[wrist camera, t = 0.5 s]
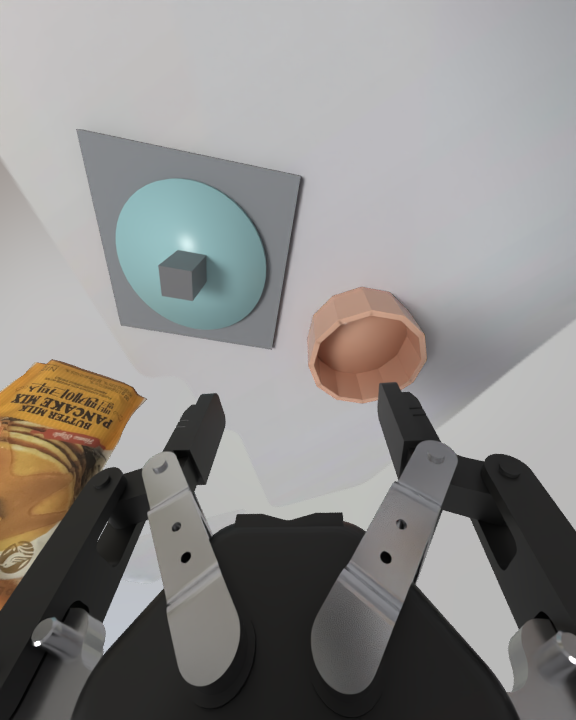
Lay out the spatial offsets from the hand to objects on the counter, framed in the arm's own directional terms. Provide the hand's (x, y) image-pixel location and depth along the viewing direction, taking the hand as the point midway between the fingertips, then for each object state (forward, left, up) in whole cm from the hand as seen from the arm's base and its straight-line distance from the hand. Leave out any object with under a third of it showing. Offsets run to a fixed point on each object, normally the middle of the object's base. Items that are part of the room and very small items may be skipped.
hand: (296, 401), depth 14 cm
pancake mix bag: (+25, -28, -22) cm, 44 cm away
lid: (+2, -11, -21) cm, 24 cm away
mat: (+2, -11, -22) cm, 25 cm away
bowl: (+8, +10, -22) cm, 25 cm away
